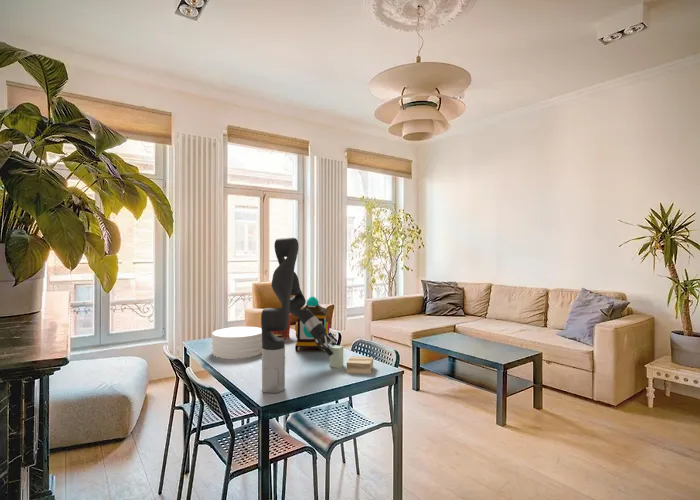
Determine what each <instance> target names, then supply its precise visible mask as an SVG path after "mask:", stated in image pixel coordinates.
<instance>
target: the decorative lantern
mask: <svg viewBox="0 0 700 500" xmlns="http://www.w3.org/2000/svg"><path fill="white" fill-rule="evenodd" d="M300 309H301V310H304V309H309V310H310V311H311V312H312V313H313V314H314V316H315V317H316V318H317V319H318V320H319V321H320V322H321V323H322V325H323V326H324V327H325V328H326V333H327V334H329V333H330V323H329V322H328V321H327V315H328V312H329V310H328V309H327V308H326V307H323V306H322V305H321V304H320V303H319V300H318V298H316V297H315V296H310V297H309V298H307V300H306V303H305V305H304V306H303V307H302V308H300ZM296 319H297V322H296V323H295V326H294V328H295V329H294V331H295V333H296V332H297V333H298V340H297V341H296V343H295V346H294V347H295V350H294V351H295V352H299V348H319V347H318V346H317V344H316V343H315V340H316V339H314V338H313V336H312V335H311V334H310V333H309V331H308V330H307V329H306V327H305V326H304V324H303V323H302V322H301V320H300V319H299V318H297V317H296ZM328 345H329V344H327V346H328ZM320 346H321V345H320ZM323 352H324V353H326V351H324V350H323Z"/></svg>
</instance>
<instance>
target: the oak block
mask: <svg viewBox="0 0 700 500" xmlns="http://www.w3.org/2000/svg"><path fill="white" fill-rule="evenodd" d="M349 357H350V358H349V359H348V360H347V362H346V374H359V373H367V374H366V375H371V372H372V371H373V369H372V368H374V357H372V356H371V357H370V356H349ZM371 370H372V371H371Z"/></svg>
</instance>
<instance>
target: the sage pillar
mask: <svg viewBox="0 0 700 500" xmlns="http://www.w3.org/2000/svg"><path fill="white" fill-rule="evenodd" d="M337 345H338V344H337ZM337 345H334V346H332V345H330V347H329V349H330V350H331V351H332V353H333V354H332V355H331V356H329V367H330V368H337V369H340V368H341V367H343V366H344V345H338V346H337Z"/></svg>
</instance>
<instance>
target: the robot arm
mask: <svg viewBox="0 0 700 500" xmlns="http://www.w3.org/2000/svg"><path fill="white" fill-rule="evenodd" d="M299 245H300V244H299V241H298V239H297V238H296V237H281V238H276V239H275V241H274V253H275V255H276V259H277V262H278V266H277V267H276V269H275V270H274V271H273V275H272V278H271V279H272V280H271V289H272V291H273V293H274V294H275V296H276V297H277V298H278V300H279V302H280V305H281V307H280V308H279V307H275V308H273V307H268V308H266V307H265V308H264V309H262V311H261V316H260V326H261V327H260V328H261V329H262V353H261V390H262V393H271V394H278V393H280V392H282V391H284V390H285V387H286V383H285V382H286V377H285V376H286V375H285V374H286V373H285V371H286V370H285V369H286V341H285V339H284V338H283V339H282V338H279V337H277V336H275V335H273V334H272V333H271V331H284V330H286V328H287V326H288V320H289V312H290V313H292V316H294V317H296V319H297V318H299V319H300V320H301V322H302V323H303V324H304V326H305V327H306V329H307V330H308V331H309V333H310V334H311V335H312V336H313V338H314V339H316V340H315V343H316V344H317V346H318V347H317V348H319V350H320V351H323V352H324V351H326V352H325V353H326V354H327V355H328V356H329V357H330V356H331V355H332V354H333V353H332V351H331V350H330V347H329V346H328V345H330V346H334V345H337V346H339V345H338V343H337V342H338V339H336V337H335V336H334V335H333V334H332V332H328V333H326V328H325V327H324V326H323V325H322V323H321V322H320V321H319V320H318V319H317V318H316V317H315V316H314V314H313V313H312V312H311V311H310V310H309V309H304V310H301V309H302V308H304V307H305V306H306V304H307V300H306V298H305V296H304V294H303V292H302V289H301V287H300V281H299V277H298V275H297V273H296V271H295V268H296V267H295V266H296V261H297V258H298V254H299V253H298V252H299ZM291 296H292V297H291ZM327 344H328V345H327ZM320 345H321V346H320Z"/></svg>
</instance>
